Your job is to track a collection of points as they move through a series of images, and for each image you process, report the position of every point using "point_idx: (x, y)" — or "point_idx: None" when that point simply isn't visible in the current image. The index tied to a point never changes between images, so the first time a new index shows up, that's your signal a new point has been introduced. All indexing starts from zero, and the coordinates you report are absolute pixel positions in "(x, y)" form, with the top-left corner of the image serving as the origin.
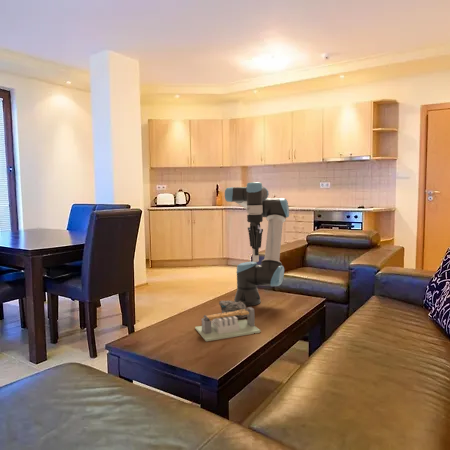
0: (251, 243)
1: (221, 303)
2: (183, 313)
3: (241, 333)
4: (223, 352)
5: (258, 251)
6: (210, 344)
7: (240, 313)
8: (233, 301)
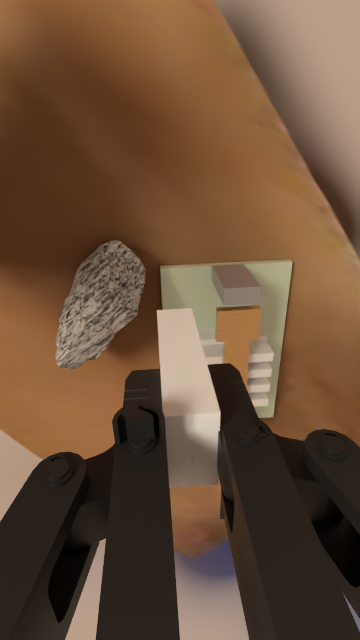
0: (85, 574)
1: (81, 362)
2: (5, 430)
3: (284, 326)
4: (354, 392)
5: (249, 397)
6: (294, 407)
7: (252, 338)
8: (91, 321)
